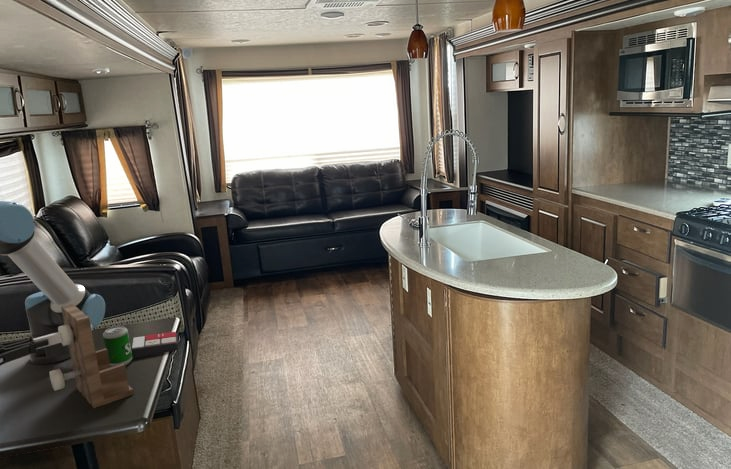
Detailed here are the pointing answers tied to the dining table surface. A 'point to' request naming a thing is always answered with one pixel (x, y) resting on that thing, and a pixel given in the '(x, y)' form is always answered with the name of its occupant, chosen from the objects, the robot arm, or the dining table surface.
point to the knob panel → (93, 363)
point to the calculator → (154, 344)
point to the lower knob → (62, 378)
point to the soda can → (118, 345)
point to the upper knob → (67, 334)
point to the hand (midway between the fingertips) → (60, 337)
